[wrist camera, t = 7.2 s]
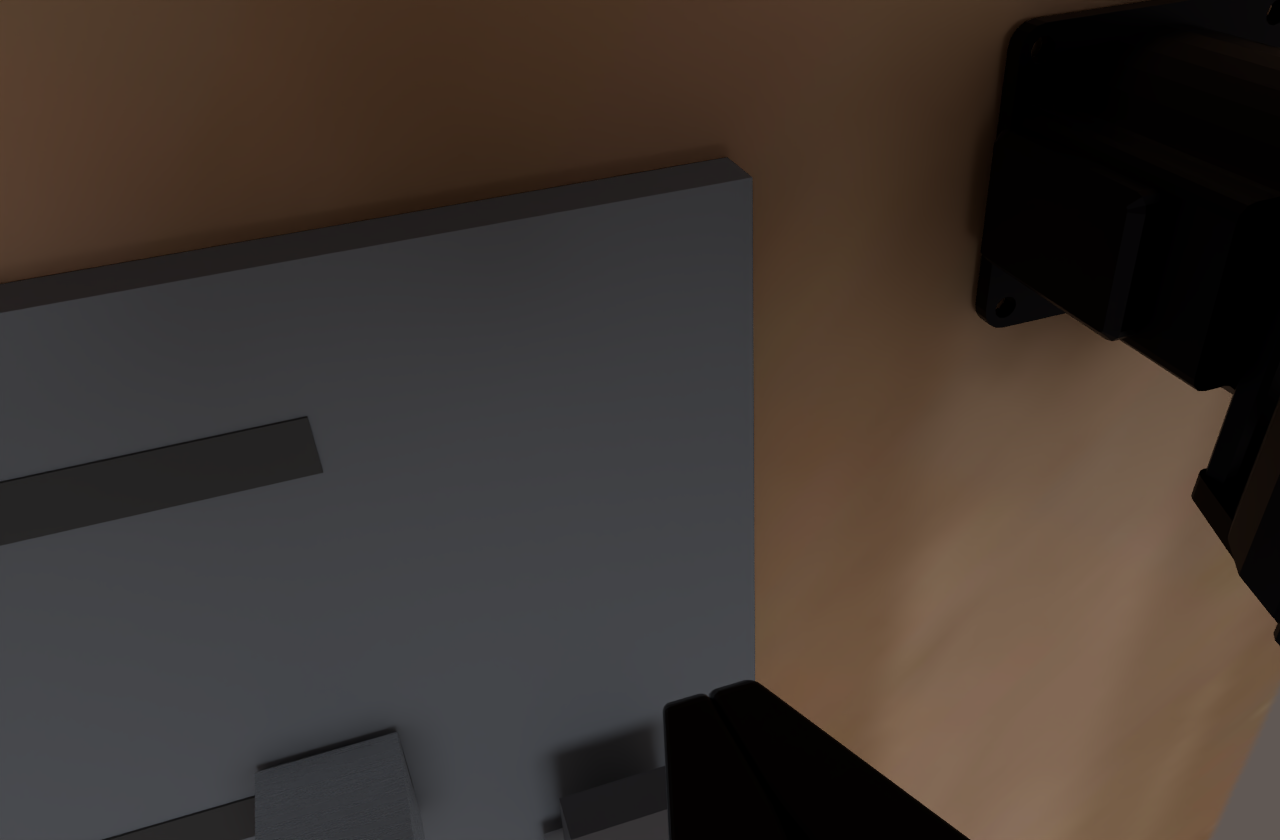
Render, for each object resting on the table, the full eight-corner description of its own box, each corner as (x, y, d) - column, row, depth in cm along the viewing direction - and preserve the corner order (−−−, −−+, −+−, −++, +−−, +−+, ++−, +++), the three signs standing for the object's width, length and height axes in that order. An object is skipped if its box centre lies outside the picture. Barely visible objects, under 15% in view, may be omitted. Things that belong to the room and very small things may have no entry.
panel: (727, 157, 20) (787, 205, 17) (739, 796, 30) (777, 877, 28) (-550, 380, 15) (-684, 483, 13) (-16, 1040, 25) (-40, 1158, 23)
